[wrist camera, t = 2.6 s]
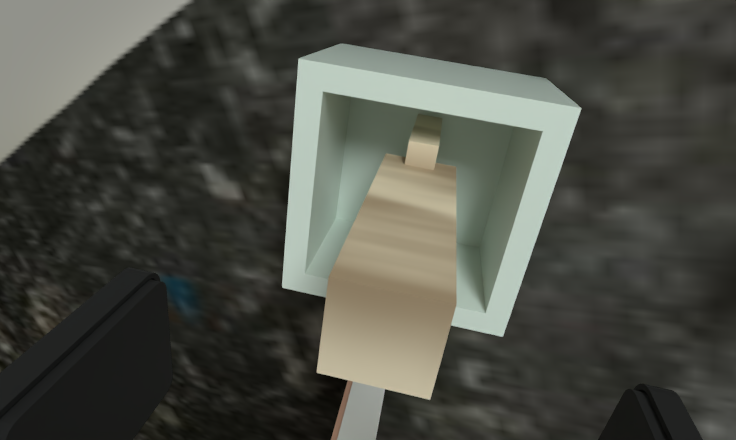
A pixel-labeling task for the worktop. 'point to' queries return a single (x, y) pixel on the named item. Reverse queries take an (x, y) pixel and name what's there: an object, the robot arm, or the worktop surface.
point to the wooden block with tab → (396, 274)
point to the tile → (359, 412)
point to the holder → (456, 148)
